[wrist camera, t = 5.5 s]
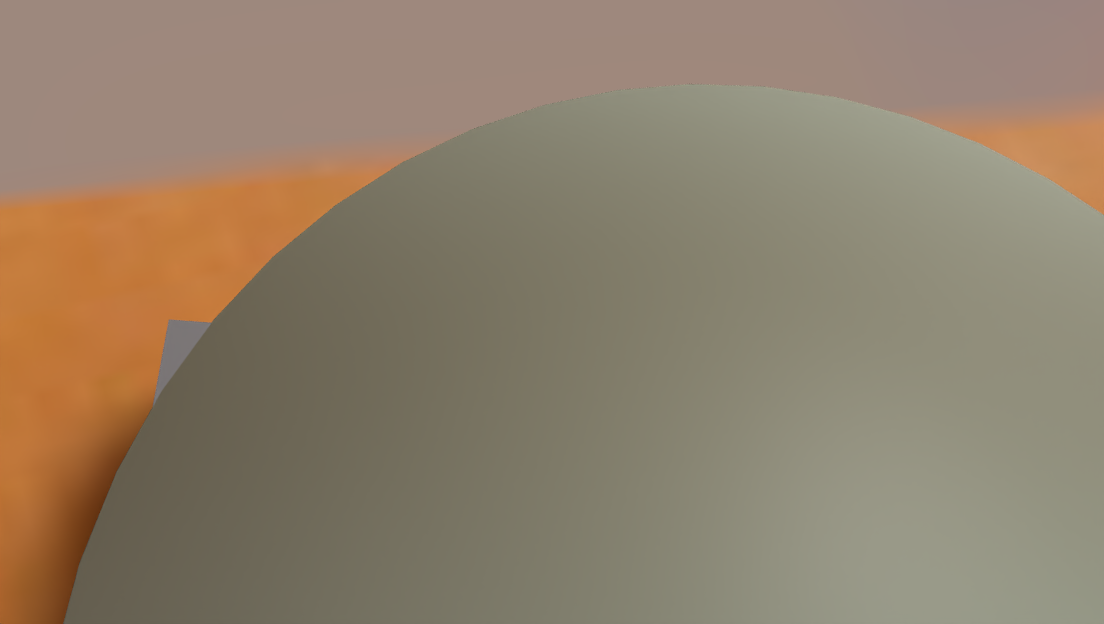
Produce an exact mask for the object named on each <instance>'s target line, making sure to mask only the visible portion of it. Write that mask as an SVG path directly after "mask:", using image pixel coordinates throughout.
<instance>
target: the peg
mask: <svg viewBox="0 0 1104 624" xmlns="http://www.w3.org/2000/svg"><path fill="white" fill-rule="evenodd" d="M63 624H1104V215H1103V214H1101V213H1100V212H1098V211H1097V210H1095V209H1094V208H1092V207H1091V206H1089V205H1088V204H1086V203H1085V202H1083V201H1082V200H1080V199H1079V198H1077V197H1075V196H1074V195H1072V194H1071V193H1069V192H1068V191H1066V190H1065V189H1063V188H1062V187H1060V186H1059V185H1057V184H1056V183H1054V182H1053V181H1051V180H1050V179H1048V178H1046V177H1044V176H1042V175H1040V174H1038V173H1036V172H1034V171H1032V170H1030V169H1028V168H1026V167H1024V166H1023V165H1021V164H1019V163H1017V162H1015V161H1013V160H1011V159H1009V158H1007V157H1005V156H1003V155H1001V154H999V153H997V152H995V151H993V150H992V149H990V148H988V147H986V146H984V145H982V144H980V143H977V142H974V141H972V140H969V139H967V138H964V137H961V136H959V135H956V134H954V133H951V132H949V131H946V130H943V129H941V128H938V127H936V126H933V125H930V124H928V123H925V122H923V121H920V120H918V119H915V118H912V117H910V116H906V115H902V114H898V113H895V112H891V111H887V110H883V109H879V108H876V107H872V106H868V105H864V104H861V103H857V102H853V101H849V100H846V99H842V98H838V97H831V96H825V95H818V94H811V93H805V92H797V91H791V90H785V89H778V88H771V87H765V86H735V85H733V86H732V85H705V84H685V85H673V86H662V87H649V88H638V89H625V90H616V91H611V92H606V93H601V94H596V95H591V96H587V97H582V98H577V99H572V100H567V101H562V102H557V103H552V104H548V105H543V106H540V107H537V108H534V109H531V110H528V111H525V112H522V113H519V114H516V115H513V116H510V117H507V118H504V119H501V120H498V121H495V122H493V123H489V124H486V125H483V126H480V127H477V128H474V129H472V130H469V131H467V132H465V133H463V134H461V135H459V136H457V137H455V138H453V139H451V140H449V141H446V142H444V143H442V144H440V145H438V146H436V147H434V148H432V149H430V150H428V151H425V152H423V153H421V154H419V155H417V156H415V157H413V158H411V159H409V160H407V161H404V162H402V163H401V164H399V165H398V166H396V167H395V168H393V169H391V170H390V171H388V172H387V173H385V174H384V175H382V176H380V177H379V178H377V179H376V180H374V181H373V182H371V183H370V184H368V185H366V186H365V187H363V188H362V189H360V190H359V191H357V192H355V193H354V194H352V195H351V196H349V197H348V198H346V199H344V200H343V201H341V202H340V203H338V204H337V205H335V206H334V207H333V208H332V209H330V210H329V211H328V212H327V213H326V214H324V215H323V216H322V217H321V218H319V219H318V220H317V221H316V222H315V223H313V224H312V225H311V226H310V227H309V228H307V229H306V230H305V231H304V232H303V233H301V234H300V235H299V236H298V237H297V238H295V239H294V240H293V241H292V242H290V243H289V244H288V245H287V246H286V247H284V248H283V249H282V250H281V251H280V252H278V253H277V254H276V255H275V256H274V257H272V258H271V260H270V261H269V262H268V263H267V264H266V265H265V266H264V267H263V268H262V269H261V270H260V271H259V272H258V273H257V274H256V275H255V277H254V278H253V279H252V280H251V281H250V282H249V283H248V284H247V285H246V286H245V287H244V288H243V289H242V290H241V291H240V292H239V294H238V295H237V296H236V297H235V298H234V299H233V300H232V301H231V302H230V303H229V304H228V305H227V306H226V307H225V308H224V309H223V310H222V312H221V313H220V314H219V315H218V316H217V317H216V318H215V319H214V320H213V322H212V323H211V324H210V326H209V327H208V328H207V330H206V331H205V333H204V334H203V335H202V337H201V338H200V339H199V341H198V342H197V343H196V345H195V346H194V348H193V349H192V350H191V352H190V353H189V354H188V356H187V357H186V358H185V360H184V361H183V363H182V364H181V365H180V367H179V368H178V369H177V371H176V372H175V373H174V375H173V376H172V378H171V379H170V380H169V382H168V383H167V384H166V386H165V387H164V389H163V390H162V391H161V393H160V395H159V397H158V399H157V400H156V402H155V404H154V406H153V407H152V409H151V411H150V413H149V415H148V416H147V418H146V420H145V422H144V424H143V425H142V427H141V429H140V431H139V433H138V434H137V436H136V438H135V440H134V442H133V443H132V445H131V447H130V449H129V450H128V452H127V454H126V456H125V458H124V459H123V461H122V463H121V465H120V467H119V468H118V470H117V472H116V474H115V477H114V479H113V482H112V484H111V487H110V489H109V492H108V494H107V497H106V499H105V502H104V504H103V506H102V509H101V511H100V514H99V516H98V519H97V521H96V524H95V526H94V529H93V531H92V534H91V536H90V538H89V541H88V543H87V546H86V548H85V551H84V553H83V556H82V558H81V561H80V564H79V567H78V571H77V575H76V578H75V582H74V586H73V590H72V593H71V597H70V601H69V604H68V608H67V612H66V616H65V619H64V623H63Z"/></svg>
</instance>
